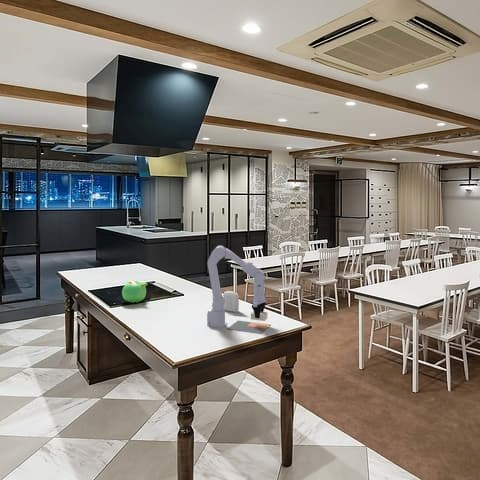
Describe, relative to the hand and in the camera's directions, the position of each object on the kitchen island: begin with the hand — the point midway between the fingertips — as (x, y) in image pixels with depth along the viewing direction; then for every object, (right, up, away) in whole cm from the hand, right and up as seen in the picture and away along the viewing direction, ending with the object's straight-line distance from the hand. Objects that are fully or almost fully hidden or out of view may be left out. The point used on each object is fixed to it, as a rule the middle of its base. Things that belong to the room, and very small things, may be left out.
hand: (259, 316), depth 220 cm
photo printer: (-16, -2, +31) cm, 35 cm away
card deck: (0, -1, 0) cm, 1 cm away
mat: (-5, -6, -2) cm, 8 cm away
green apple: (-81, 0, +51) cm, 96 cm away
